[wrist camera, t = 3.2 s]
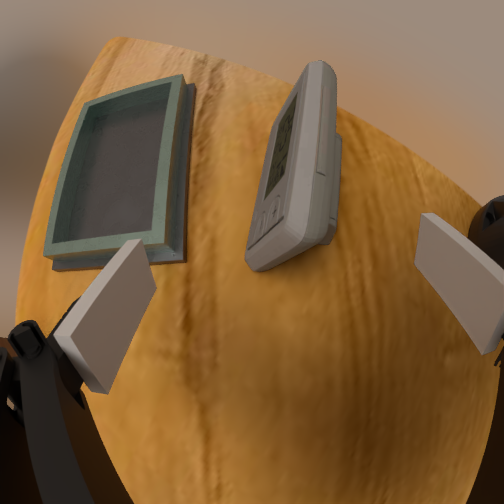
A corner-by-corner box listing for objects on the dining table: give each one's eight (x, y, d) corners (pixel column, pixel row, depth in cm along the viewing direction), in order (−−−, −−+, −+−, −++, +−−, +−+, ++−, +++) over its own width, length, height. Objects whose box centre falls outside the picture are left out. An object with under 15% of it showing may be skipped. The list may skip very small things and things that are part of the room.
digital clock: (278, 124, 29) (274, 46, 19) (357, 148, 28) (382, 73, 17) (214, 258, 26) (173, 207, 15) (311, 295, 24) (333, 264, 14)
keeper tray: (196, 88, 32) (189, 69, 29) (186, 262, 26) (172, 251, 22) (92, 115, 33) (81, 101, 30) (57, 271, 27) (37, 264, 23)
